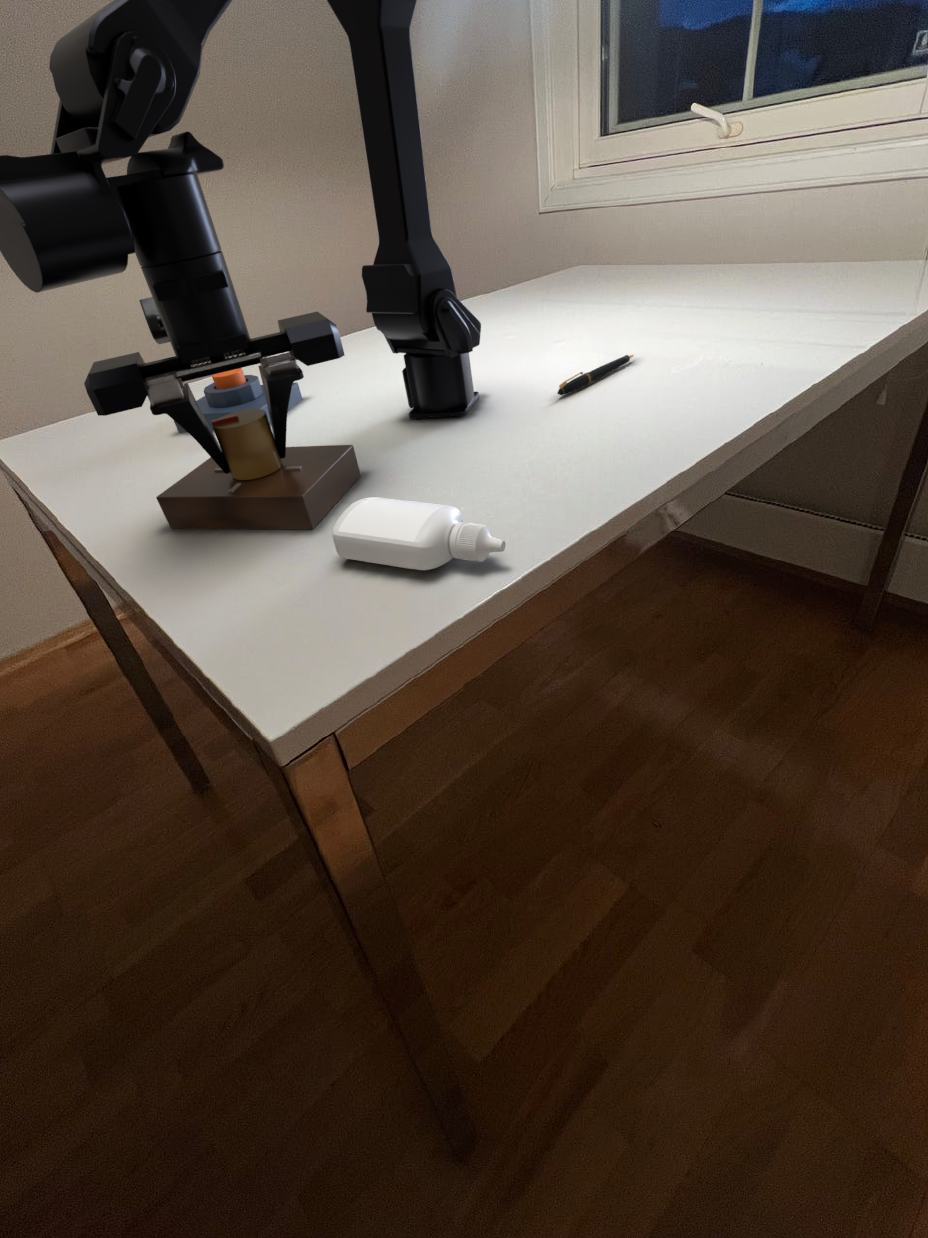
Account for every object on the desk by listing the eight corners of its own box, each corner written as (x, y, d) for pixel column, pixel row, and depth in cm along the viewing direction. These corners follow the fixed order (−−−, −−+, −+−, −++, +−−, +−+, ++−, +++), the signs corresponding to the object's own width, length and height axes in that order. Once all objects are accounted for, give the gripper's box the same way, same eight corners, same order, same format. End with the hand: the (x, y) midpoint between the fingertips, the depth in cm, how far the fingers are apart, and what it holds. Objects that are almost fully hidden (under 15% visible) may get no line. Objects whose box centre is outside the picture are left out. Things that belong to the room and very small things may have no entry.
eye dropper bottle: (330, 494, 43) (487, 511, 38) (378, 497, 48) (523, 512, 43) (327, 558, 44) (480, 583, 39) (374, 554, 49) (516, 576, 44)
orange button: (252, 380, 77) (247, 366, 76) (236, 390, 75) (231, 375, 74) (227, 382, 78) (222, 368, 77) (211, 392, 76) (205, 377, 75)
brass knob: (279, 454, 57) (261, 401, 54) (285, 470, 53) (267, 414, 50) (230, 467, 56) (209, 414, 53) (233, 485, 52) (211, 428, 49)
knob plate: (361, 475, 58) (352, 442, 56) (313, 529, 50) (301, 493, 49) (232, 477, 62) (220, 447, 60) (170, 528, 55) (154, 495, 53)
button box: (303, 399, 81) (293, 367, 78) (263, 429, 73) (251, 394, 71) (223, 404, 84) (212, 373, 82) (178, 433, 77) (164, 400, 74)
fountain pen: (630, 359, 74) (631, 346, 73) (639, 360, 74) (639, 346, 73) (553, 398, 67) (552, 384, 66) (561, 400, 66) (561, 386, 66)
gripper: (292, 229, 53) (340, 412, 62) (58, 275, 49) (146, 463, 58) (316, 235, 45) (368, 446, 54) (35, 291, 41) (142, 509, 50)
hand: (255, 464), depth 54 cm, fingers closed on brass knob, 4 cm apart
